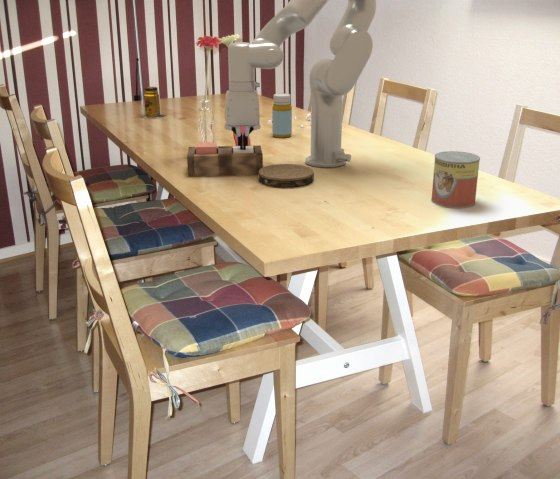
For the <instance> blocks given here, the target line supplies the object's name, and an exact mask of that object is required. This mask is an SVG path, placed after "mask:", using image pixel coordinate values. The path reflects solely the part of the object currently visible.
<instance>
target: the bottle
mask: <svg viewBox="0 0 560 479" xmlns="http://www.w3.org/2000/svg"><path fill="white" fill-rule="evenodd" d="M291 100H292V98H291V94H290V93H275V94H273V105H272V112H271V113H272V114H271V115H272V116H271V119H272V121H271V123H272V124H271V125H272V126H271V127H272V131H271V132H272V133H271V134H272V137H274V138H277V139H287V138H290V137H291V136H292V133H293V132H292V129H293V128H292V126H293V121H292V120H293V119H292V118H293V111H292V110H293V109H292V108H293V107H292V104H291V102H292V101H291Z"/></svg>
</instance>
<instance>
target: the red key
mask: <svg viewBox="0 0 560 479" xmlns="http://www.w3.org/2000/svg"><path fill="white" fill-rule="evenodd" d="M195 147H196V154H217V141H216V142H215V141H214V142H213V141H211V142H206V141H204V142H203V141H202V142H196V143H195Z"/></svg>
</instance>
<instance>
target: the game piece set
mask: <svg viewBox="0 0 560 479" xmlns="http://www.w3.org/2000/svg"><path fill="white" fill-rule="evenodd" d="M292 115H293V116H294V120H297V119H298V117H297V116H296V115H295V112H293V111H292ZM270 116H271V117H272V114H270ZM305 120H306V121H307V122H309V121H310V120H311V112H310V113H307V114H306V117H305ZM266 124H267V125H269V124H270V125H272V118H270V119H269V120H268V121H267V123H266ZM299 127H300V129H304V128H305V125H303V124H301V125H300V126H299Z"/></svg>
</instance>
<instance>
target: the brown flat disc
mask: <svg viewBox="0 0 560 479" xmlns="http://www.w3.org/2000/svg"><path fill="white" fill-rule="evenodd" d="M314 174H315V170H314V168H312V167H309V166H306V165H303V164H302V165H301V164H297V163H296V164H293V163H278V164H271V165H270V164H269V165H265V166H263V168H261V169H260V170H259V175H258V182H259V183H260V184H261V185H262V186H263V185H264V186H266V187H271V188H276V189H277V188H278V189H280V188H281V189H295V188H296V189H297V188H304V187H306V186H309V185H311V184H313V182H315V175H314Z"/></svg>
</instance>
